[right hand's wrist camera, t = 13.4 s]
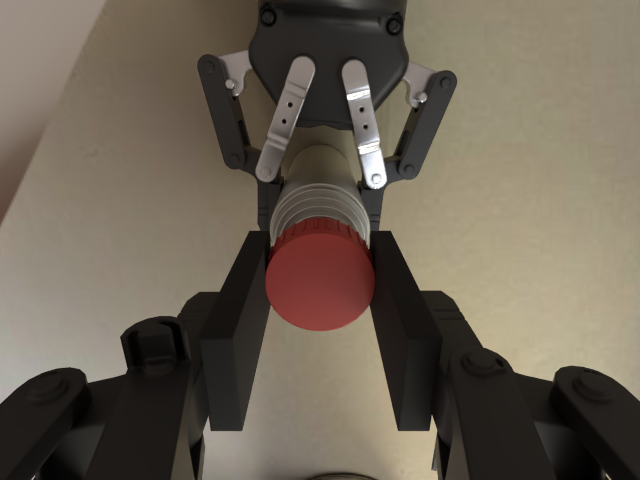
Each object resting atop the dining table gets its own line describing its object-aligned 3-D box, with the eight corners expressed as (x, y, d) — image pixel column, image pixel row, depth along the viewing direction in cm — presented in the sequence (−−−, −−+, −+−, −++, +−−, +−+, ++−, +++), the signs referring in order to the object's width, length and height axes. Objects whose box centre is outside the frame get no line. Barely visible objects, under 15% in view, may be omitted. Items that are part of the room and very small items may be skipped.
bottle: (277, 182, 29) (228, 292, 14) (313, 131, 28) (304, 188, 12) (326, 216, 30) (333, 355, 15) (363, 169, 29) (414, 266, 13)
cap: (248, 274, 15) (240, 295, 13) (307, 194, 13) (306, 207, 12) (330, 325, 16) (331, 350, 14) (392, 254, 14) (401, 273, 13)
